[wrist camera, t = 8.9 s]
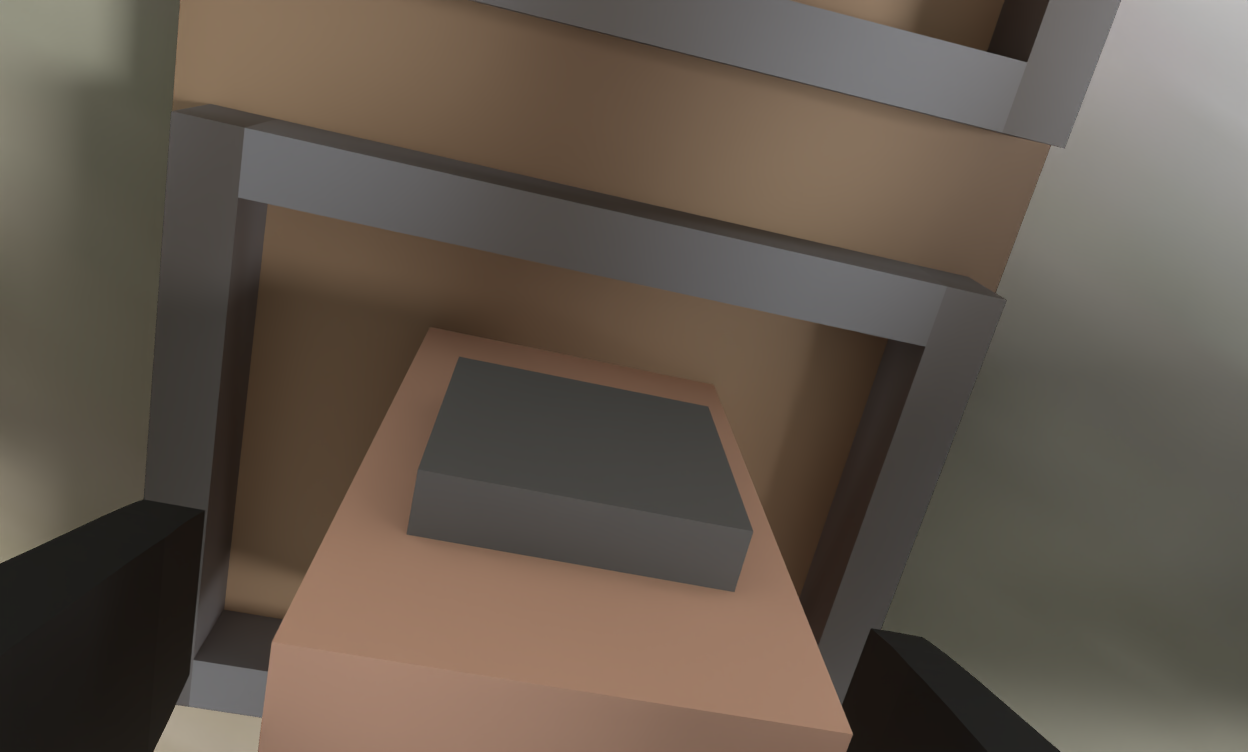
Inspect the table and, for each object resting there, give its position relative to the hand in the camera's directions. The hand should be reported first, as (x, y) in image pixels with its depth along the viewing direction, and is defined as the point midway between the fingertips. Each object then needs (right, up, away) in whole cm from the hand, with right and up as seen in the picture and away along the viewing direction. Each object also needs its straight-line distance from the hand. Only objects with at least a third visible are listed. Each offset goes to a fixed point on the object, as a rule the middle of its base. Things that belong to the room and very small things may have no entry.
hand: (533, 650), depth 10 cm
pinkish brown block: (0, +1, +4) cm, 4 cm away
